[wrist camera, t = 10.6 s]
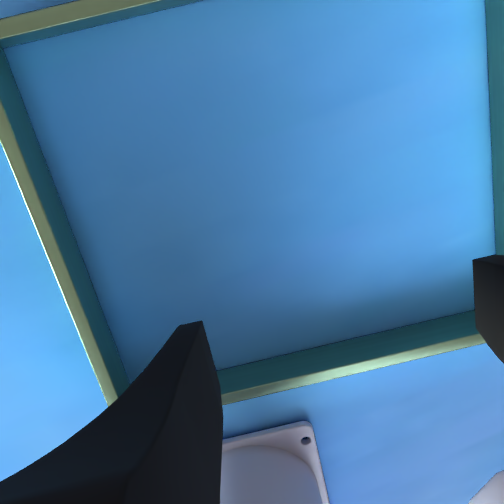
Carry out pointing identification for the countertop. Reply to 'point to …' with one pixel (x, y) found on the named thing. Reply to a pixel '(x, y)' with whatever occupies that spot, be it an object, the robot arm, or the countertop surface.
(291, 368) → the baking frame
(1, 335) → the countertop surface
